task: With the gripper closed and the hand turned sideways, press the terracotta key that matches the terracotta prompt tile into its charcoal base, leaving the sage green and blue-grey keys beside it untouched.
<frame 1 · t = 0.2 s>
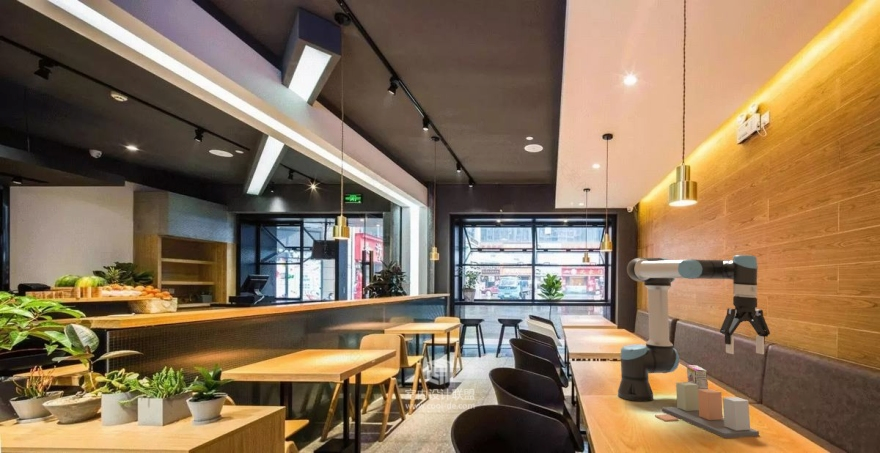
hand: (745, 353, 169), 27 cm above the table, tool pointing down, fingers open, 13 cm apart
charcoal key base: (706, 422, 174), on the table
terracotta prompt tile: (666, 418, 178), on the table
candy bar box: (698, 406, 196), on the table
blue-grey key: (736, 413, 164), point 7 cm above the table, slide at 0.0 cm
sage green key: (687, 396, 187), point 7 cm above the table, slide at 0.0 cm
terracotta key: (710, 404, 175), point 7 cm above the table, slide at 0.0 cm
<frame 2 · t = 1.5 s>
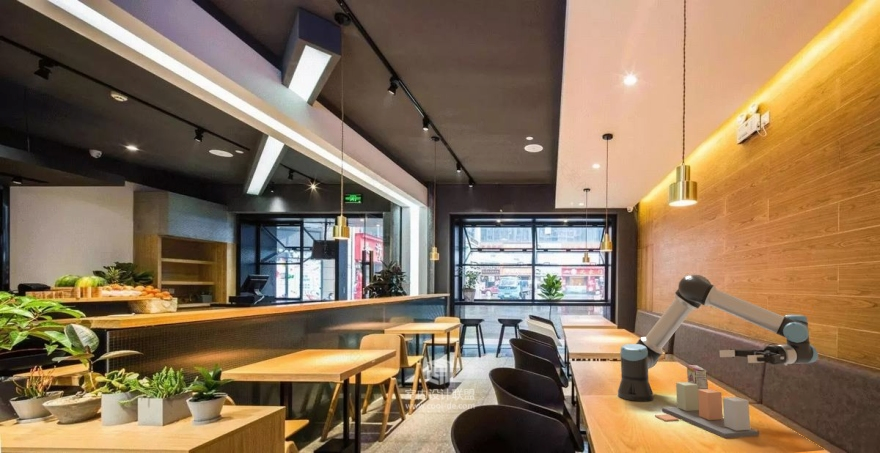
hand: (733, 356, 179), 24 cm above the table, tool horizontal, fingers open, 13 cm apart
nothing on the table moved.
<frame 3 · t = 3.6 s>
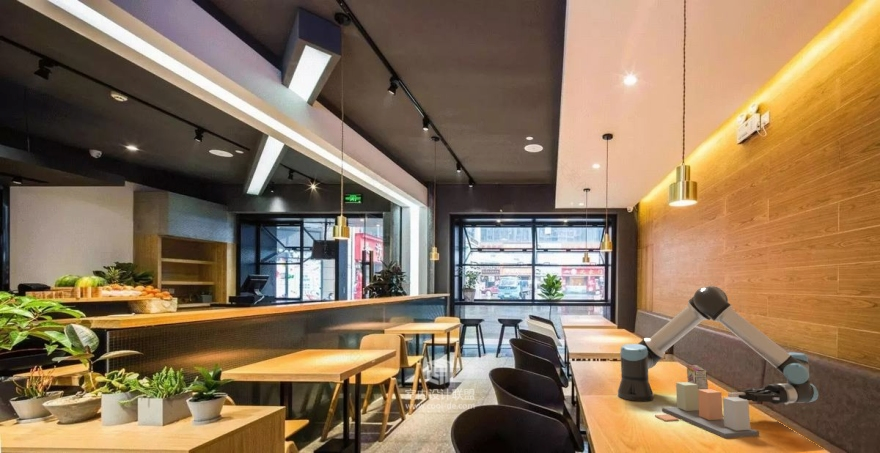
hand: (730, 396, 177), 9 cm above the table, tool horizontal, fingers closed
nothing on the table moved.
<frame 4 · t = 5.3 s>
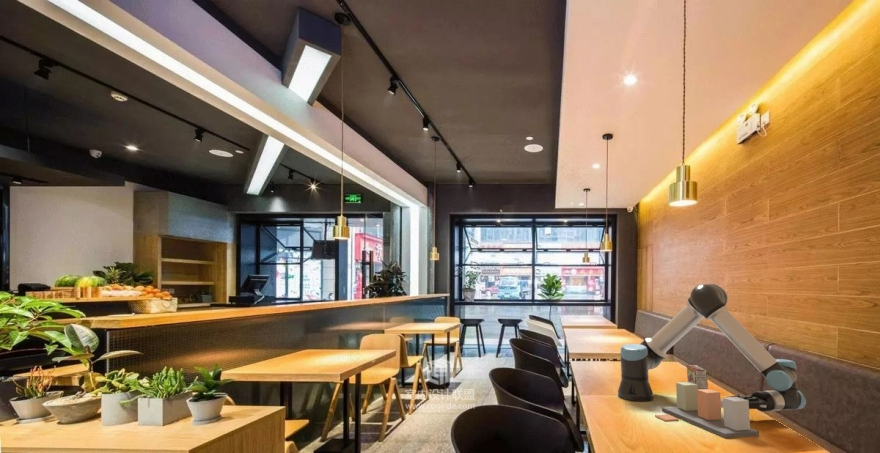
hand: (716, 403, 175), 7 cm above the table, tool horizontal, fingers closed
terracotta key: (709, 404, 175), point 7 cm above the table, slide at 0.5 cm, touching gripper
everything else where it was.
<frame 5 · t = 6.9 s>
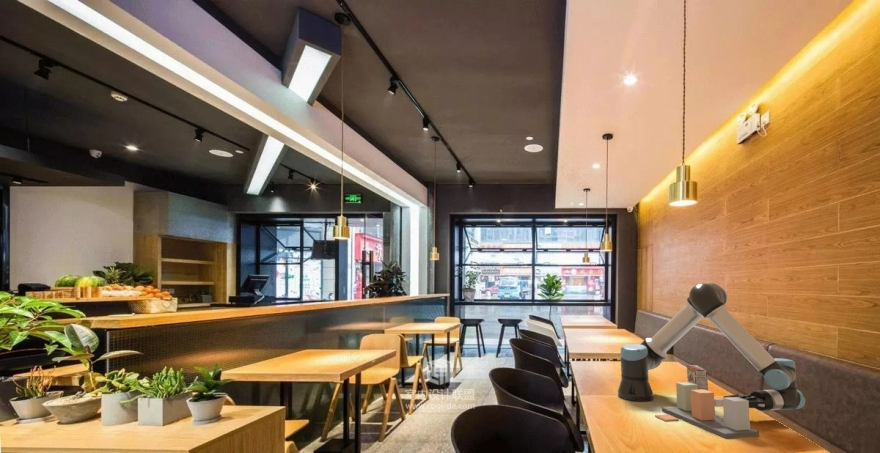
hand: (714, 402, 176), 7 cm above the table, tool horizontal, fingers closed
terracotta key: (702, 404, 175), point 7 cm above the table, slide at 3.3 cm
everything else where it was.
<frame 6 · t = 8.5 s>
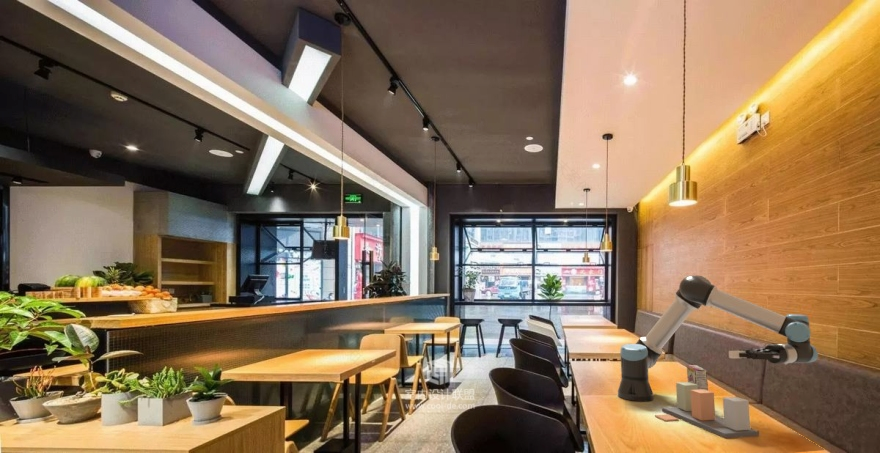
hand: (730, 354, 179), 25 cm above the table, tool horizontal, fingers closed
nothing on the table moved.
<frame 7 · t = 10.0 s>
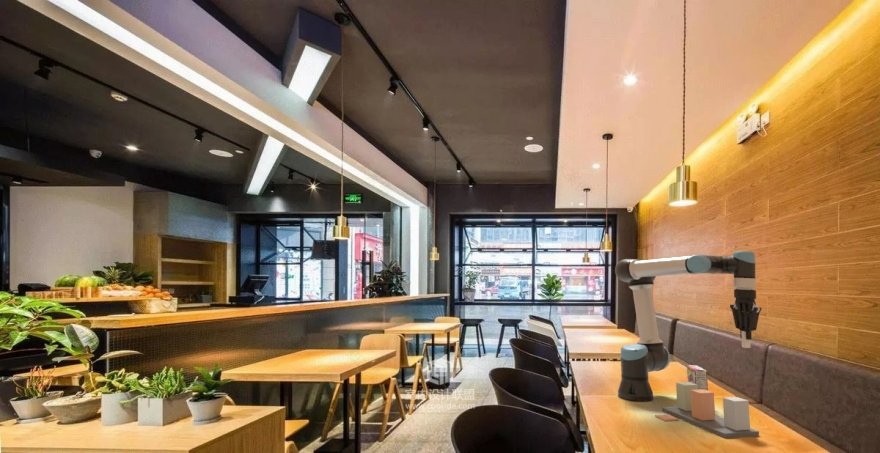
hand: (746, 347, 184), 27 cm above the table, tool pointing down, fingers closed
nothing on the table moved.
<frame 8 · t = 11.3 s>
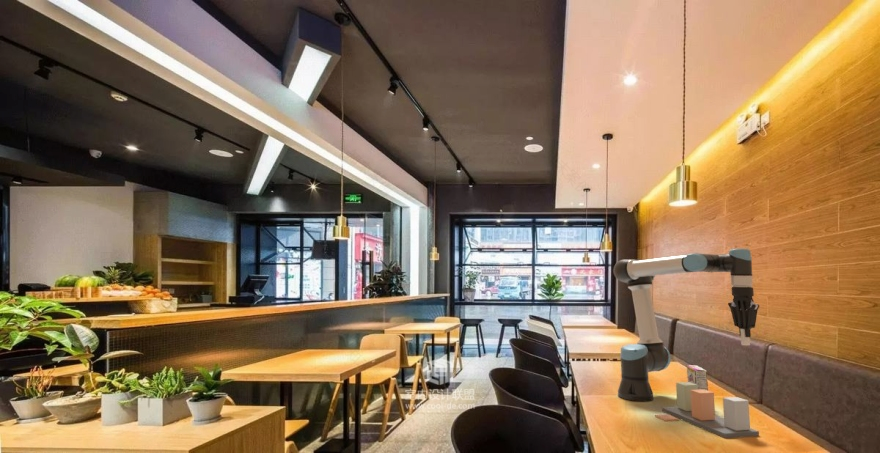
hand: (745, 345, 184), 28 cm above the table, tool pointing down, fingers closed
nothing on the table moved.
at the end: terracotta key slide at 3.3 cm; sage green key slide at 0.0 cm; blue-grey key slide at 0.0 cm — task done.
